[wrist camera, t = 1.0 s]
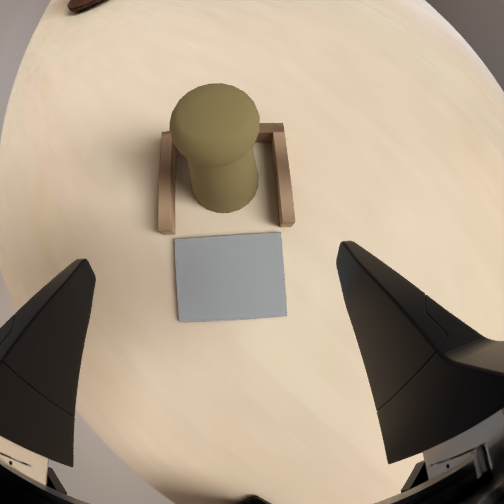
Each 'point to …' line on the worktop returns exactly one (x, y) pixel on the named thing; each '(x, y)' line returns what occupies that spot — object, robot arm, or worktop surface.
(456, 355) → the robot arm
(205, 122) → the cork
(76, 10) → the brown figurine
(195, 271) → the pad
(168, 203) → the u-shaped wooden frame
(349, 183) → the worktop surface
